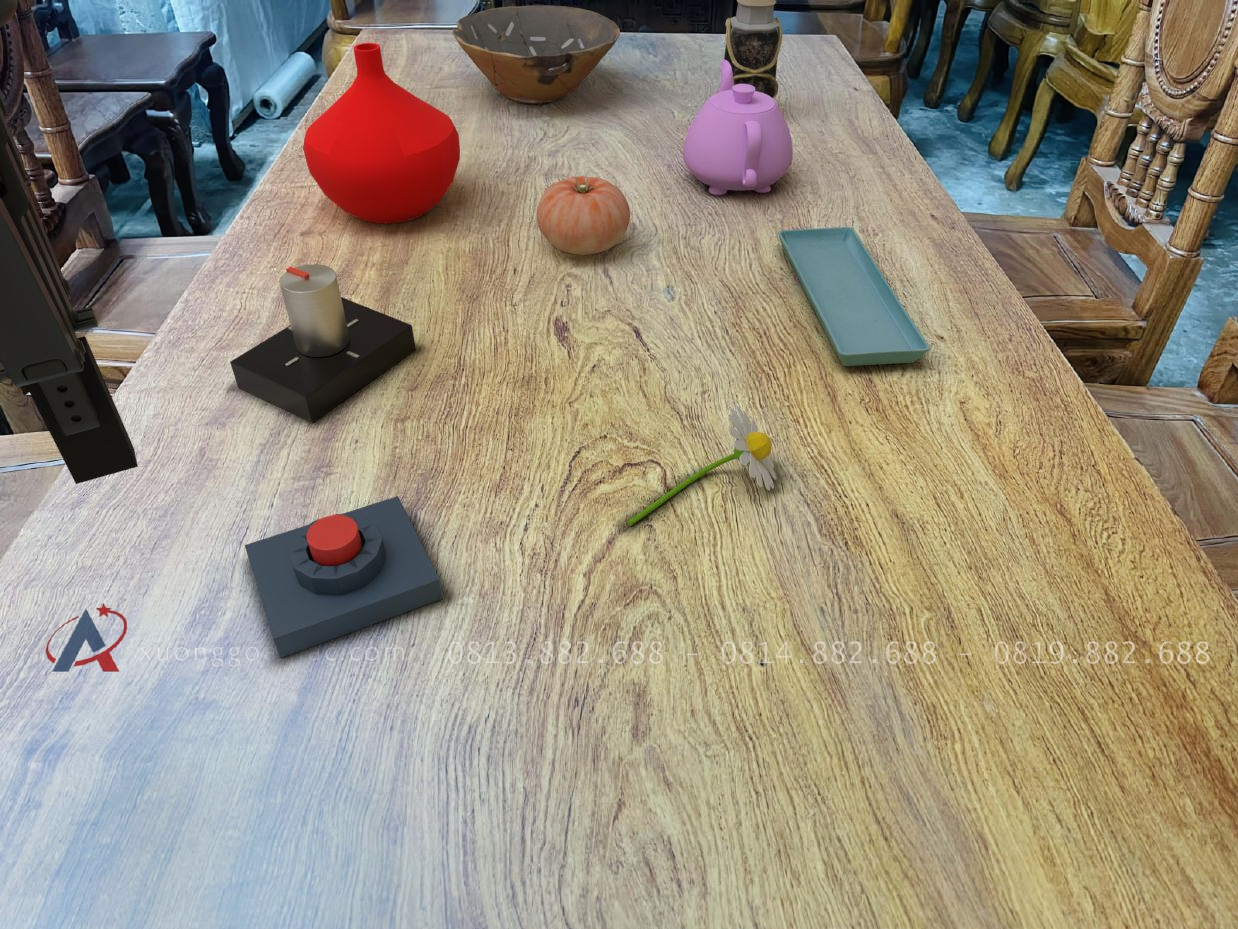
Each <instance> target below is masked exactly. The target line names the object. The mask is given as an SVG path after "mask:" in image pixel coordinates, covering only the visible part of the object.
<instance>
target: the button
mask: <svg viewBox="0 0 1238 929" xmlns="http://www.w3.org/2000/svg"><path fill="white" fill-rule="evenodd" d="M317 520H318V521H316V520H315V521H316V522H315V523H314V524H312V526H311V527H310V528H309V530H308V532H307V541H308V545H309V548H310V551H311V554H312V557H313V559H314V560H315V561H316V562H317V563H319V564H321V565H324V566H339V565H342V564H345V563H348V562H350V561H351V560H353V559H354V558H355V557H356V556H357V555H358V554H359V552H360V550H361V546H362V543H361V539H360V535H359V531H358V527H357V524H356V522H355V521H354V520H353V519H351V518H350V517H347V516H344V515H334V514H331V515H326V516H324V517H322V518H319V519H317Z"/></svg>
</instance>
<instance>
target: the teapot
mask: <svg viewBox="0 0 1238 929" xmlns="http://www.w3.org/2000/svg"><path fill="white" fill-rule="evenodd" d="M719 68H720V82H719V87H718V91H717V92H716V93H714V94H713V95H711V96H710V97H709V98H708V99H707V101H705V103H704V104H703V105H702V107H701V108H700V110H699V111H698V112H697V114H696V116H695V117H694V119H693V120H692V122H691V123H690V126H689V128H688V130H687V132H686V136H685V139H684V143H683V147H682V158H683V162H684V164H685V166H686V167H687V169H688V170H689V172H690V173H691V174H692V175H693V176H694V177H695V179H697V180H698V181H700V182H701V183H703V184H705V185H707V186H709V188H708V192H709V193H710V194H712V195H717V196H720V195H721V196H722V195H724V194H726V193H727V192H728V191H754V192H756V193H764V194H765V193H768V192H770V191H771V189H772V188H771V187H770V186H771V185H773V184H775V183H776V182H777V181H778V180H780V179H781V178H782V177H783V176H784V175H785V174H786V173H787V172H788V171H789V169H790V168H791V166H792V163H793V156H794V152H793V151H794V150H793V149H794V148H793V142H792V136H791V132H790V128H789V126H788V123H787V121H786V119H785V117H784V115H783V113H782V110H781V108H780V107H779V105H778V103H777V102H776V100H775V99H774V98H772V97H770V96H768V95H766V94H764V93H761V92H757V91H755V87H754V86H752V85H749V84H737V85H734V80H733V73H732V68H731V65H730V63H729V62H728V61H727V60H724V59H721V60H720V67H719Z"/></svg>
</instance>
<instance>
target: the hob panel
mask: <svg viewBox="0 0 1238 929" xmlns="http://www.w3.org/2000/svg"><path fill="white" fill-rule="evenodd" d="M341 299H342V304H343V309H344V313H345V318H346V323H347V327H348V332H349V337H350V341H349V344H348V345H347V346H346V347H345V348H344V349H343V350H342V351H340V352H338V353H336V354H333V355H330V356H325V357H310V356H306V355H303V354H302V353H300V352H299V351H298V350H297V348H296V344H295V340H294V336H293V333H292V329H291V325H290V324H289V325H288V326H286V327H285V328H283V329H281V330H280V331H278V332H276V333H275V334H273V335H272V336H270V337H268V338H267V339H265V340H263V341H261V343H260V342H259V344H257V345H256V346H254V347H252V348H250V349H248V350H247V351H245V352H243V353H242V354H240V355H238V356H237V357H235V358H234V359H231V360H230V361H229V363H230V366H231V370H232V373H233V376H234V379H235V383H236V385H237V388H238V389H240V390H243V391H245V392H247V393H249V394H251V395H253V396H255V397H258V398H259V399H262V400H264V401H266V402H268V403H270V404H272V405H275V406H276V407H278V408H280V409H282V410H285V411H286V412H289V413H290V414H293V415H294V416H297V417H299V418H300V419H303V420H305V421H307V422H309V423H311V424H314V423H315V422H317V420H319V419H320V418H322V417H323V416H325V415H326V414H328V413H329V412H331V411H332V410H333V409H335V408H336V407H338V406H339V405H341V404H342V403H343V402H345V401H346V400H348V399H349V398H351V396H353V395H354V394H356V393H357V392H359V391H361V390H362V389H363V388H364V387H366V386H367V385H369V384H370V383H371V382H373V381H375V380H376V379H378V378H379V377H380V376H382V374H384V373H386V372H388V371H389V370H390V369H391V368H393V367H394V366H396V365H397V364H398V363H400V362H401V361H403V360H404V359H405V358H406V357H408V356H410V355H411V354H413V353H414V352H415V351H416V350H417V348H416V342H415V336H414V330H413V329H414V328H413V325H412V324H410V323H408V322H405V321H402V320H401V319H397V318H395V317H393V316H390V315H388V314H385V313H383V312H380V311H378V310H376V309H372V308H370V307H367V306H365V305H363V304H361V303H358V302H356V301H352V300H350V299H347V298H346V297H342V296H341Z"/></svg>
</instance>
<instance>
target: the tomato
mask: <svg viewBox="0 0 1238 929" xmlns="http://www.w3.org/2000/svg"><path fill="white" fill-rule="evenodd" d="M630 220H631V210H630V206H629V203H628V200H627V199H626V196H625V194H624V193H623V191H622V190H621V189H620V188H619V187H618V186H616V185H614V184H613V183H611V182H610V181H608V180H605V179H603V178H600V177H596V176H585V175H579V176H570V177H568V178H564V179H561V180H558V181H556V182H555V183H552V184H551V185H550V186H549V187H548V188H546V190H544V192H543V193H542V195H541V197H540V199H539V200H538V204H537V206H536V223H537V226H538V229H539V232H540V233H541V235H542V236H543V238H544V239H545V240H546V241H547V242H548V243H549V244H550V245H551V246H553V247H555V248H556V249H558V250H559V251H562V252H565V253H568V254H572V255H580V256H587V255H588V256H589V255H596V254H599V253H602V252H605V251H607V250H609V249H611V248H613V247H614V246H615V245H617V244H618V243H619V242H620V241H621V240H622V238H623V237H624V235H625V234H626V232H627V231H628V227H629V225H630Z"/></svg>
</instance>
